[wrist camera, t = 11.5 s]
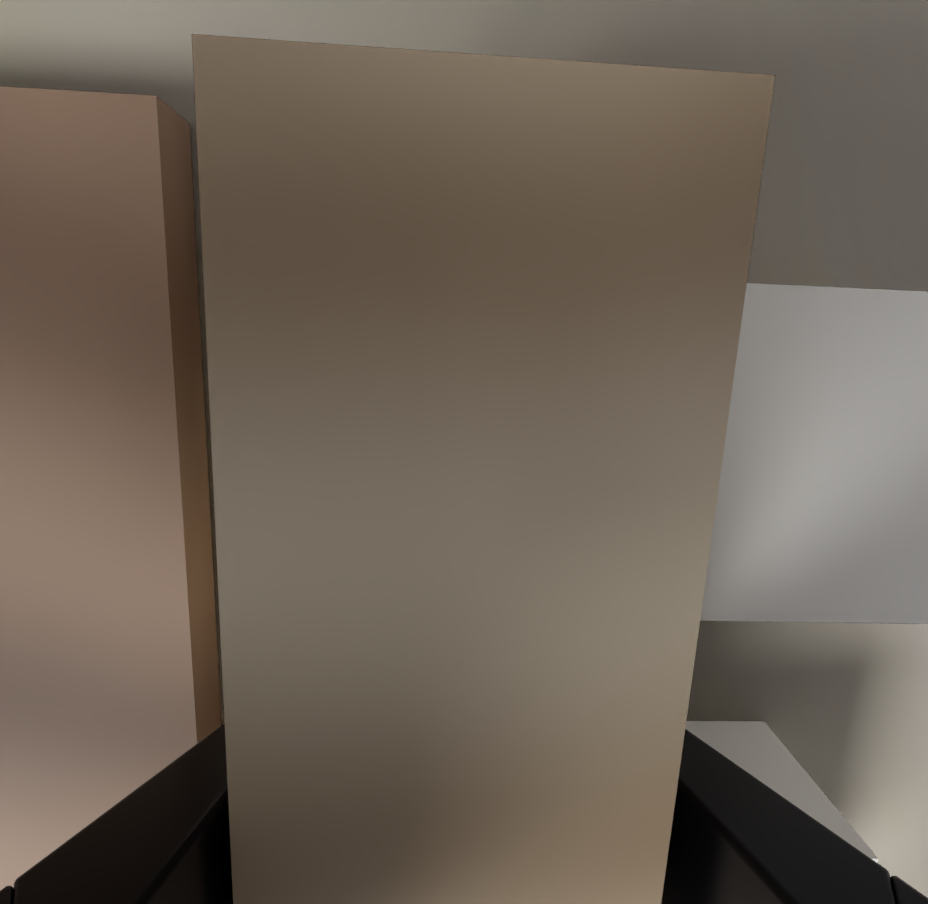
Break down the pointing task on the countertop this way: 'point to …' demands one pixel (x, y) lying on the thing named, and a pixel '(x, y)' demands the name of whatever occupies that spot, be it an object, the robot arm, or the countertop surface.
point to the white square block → (824, 461)
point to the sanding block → (464, 457)
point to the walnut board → (98, 463)
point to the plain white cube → (775, 770)
